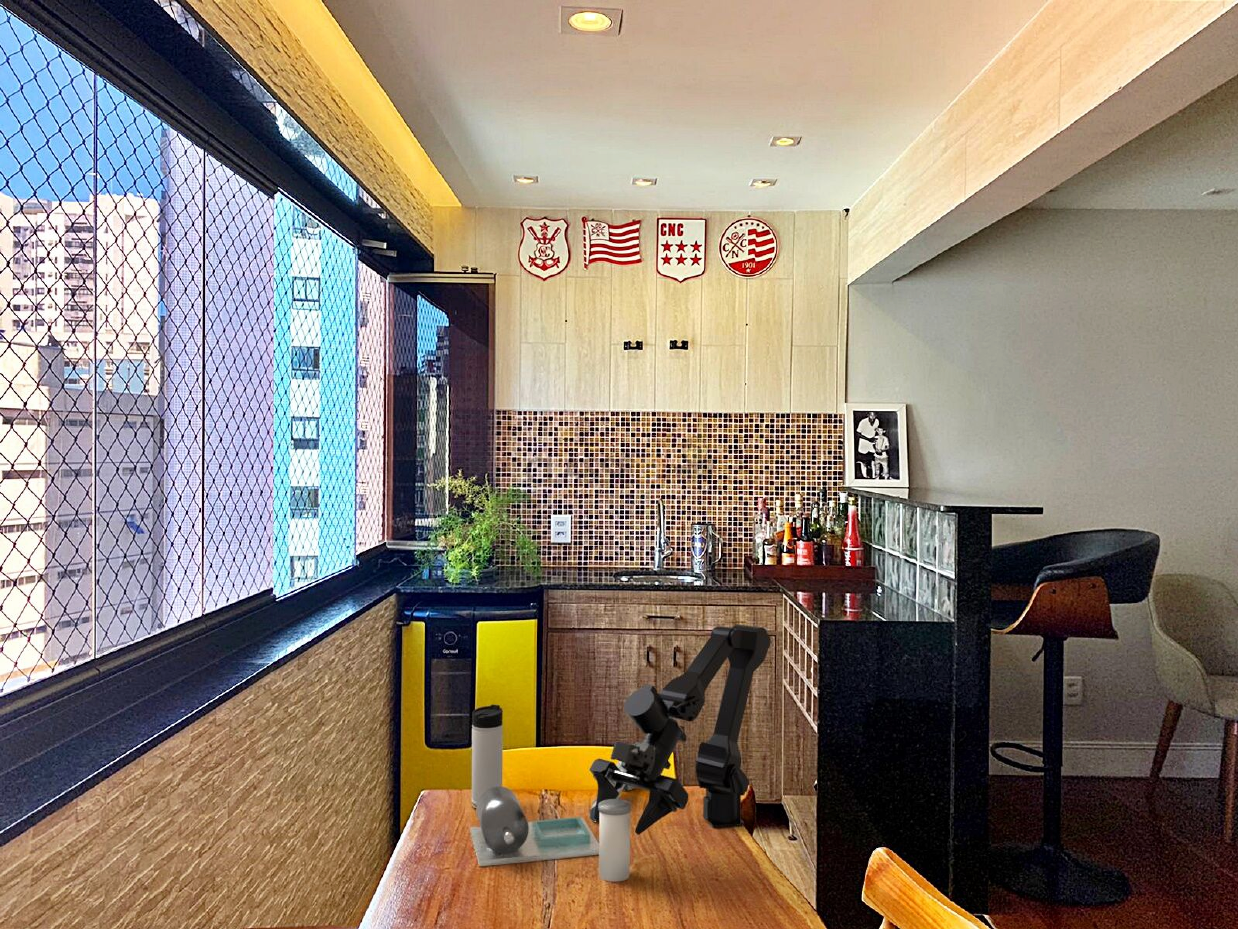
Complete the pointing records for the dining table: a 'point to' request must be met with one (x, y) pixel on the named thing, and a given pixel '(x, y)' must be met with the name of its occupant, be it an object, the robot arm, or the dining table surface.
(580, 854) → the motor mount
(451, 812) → the dining table surface
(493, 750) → the travel mug
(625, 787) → the light grey long piece
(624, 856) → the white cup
